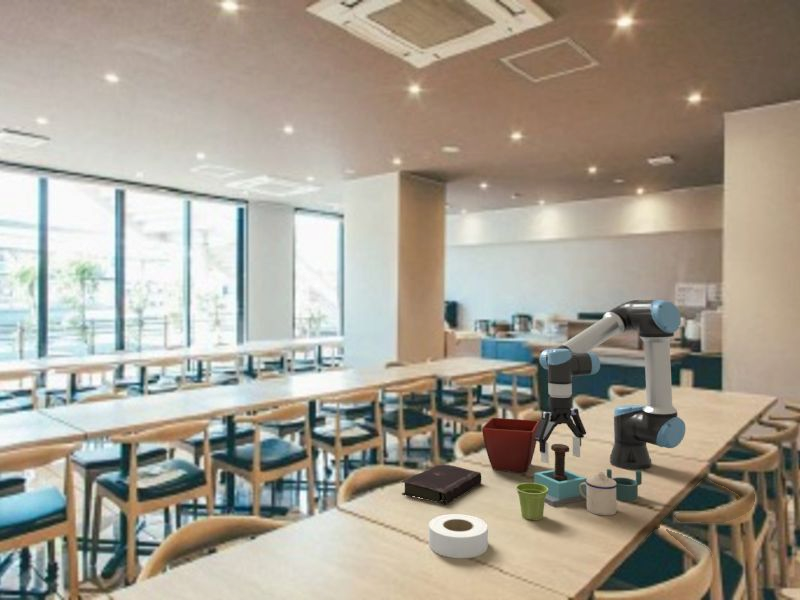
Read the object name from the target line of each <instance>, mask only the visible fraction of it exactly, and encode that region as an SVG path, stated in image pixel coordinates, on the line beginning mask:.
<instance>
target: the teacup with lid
mask: <svg viewBox="0 0 800 600" xmlns="http://www.w3.org/2000/svg"><path fill="white" fill-rule="evenodd" d="M586 478H587V479H586V482H583V483H581V484H580V485H579V491H580V493H581V495H582V496H583V497H584V498H586V499H585V500H586V509H587V511H589V512H590V513H591V514H594V515H598V516H606V517H607V516H613V515H615V514H616V513H617V499H616V487H617V483H616V481H615V480H613V479H611V478H608V477H607V475H605V472H602V471H599V472H597V474H596V475H593V476H590V477H586ZM583 485H587V495H585V494H584V492H583V489H582V486H583Z"/></svg>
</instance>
